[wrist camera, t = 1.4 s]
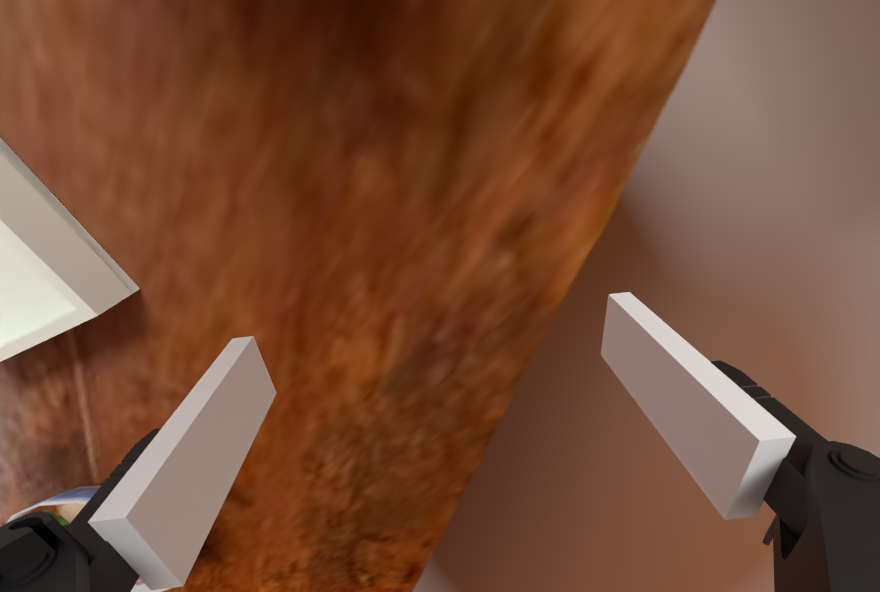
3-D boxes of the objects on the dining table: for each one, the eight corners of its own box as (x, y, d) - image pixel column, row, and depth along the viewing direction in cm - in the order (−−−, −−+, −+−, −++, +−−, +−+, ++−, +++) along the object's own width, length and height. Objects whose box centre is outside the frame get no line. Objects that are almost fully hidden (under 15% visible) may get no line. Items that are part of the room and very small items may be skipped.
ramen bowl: (107, 560, 62) (66, 619, 55) (4, 473, 52) (-63, 532, 44) (246, 530, 61) (223, 587, 53) (169, 435, 50) (127, 490, 43)
